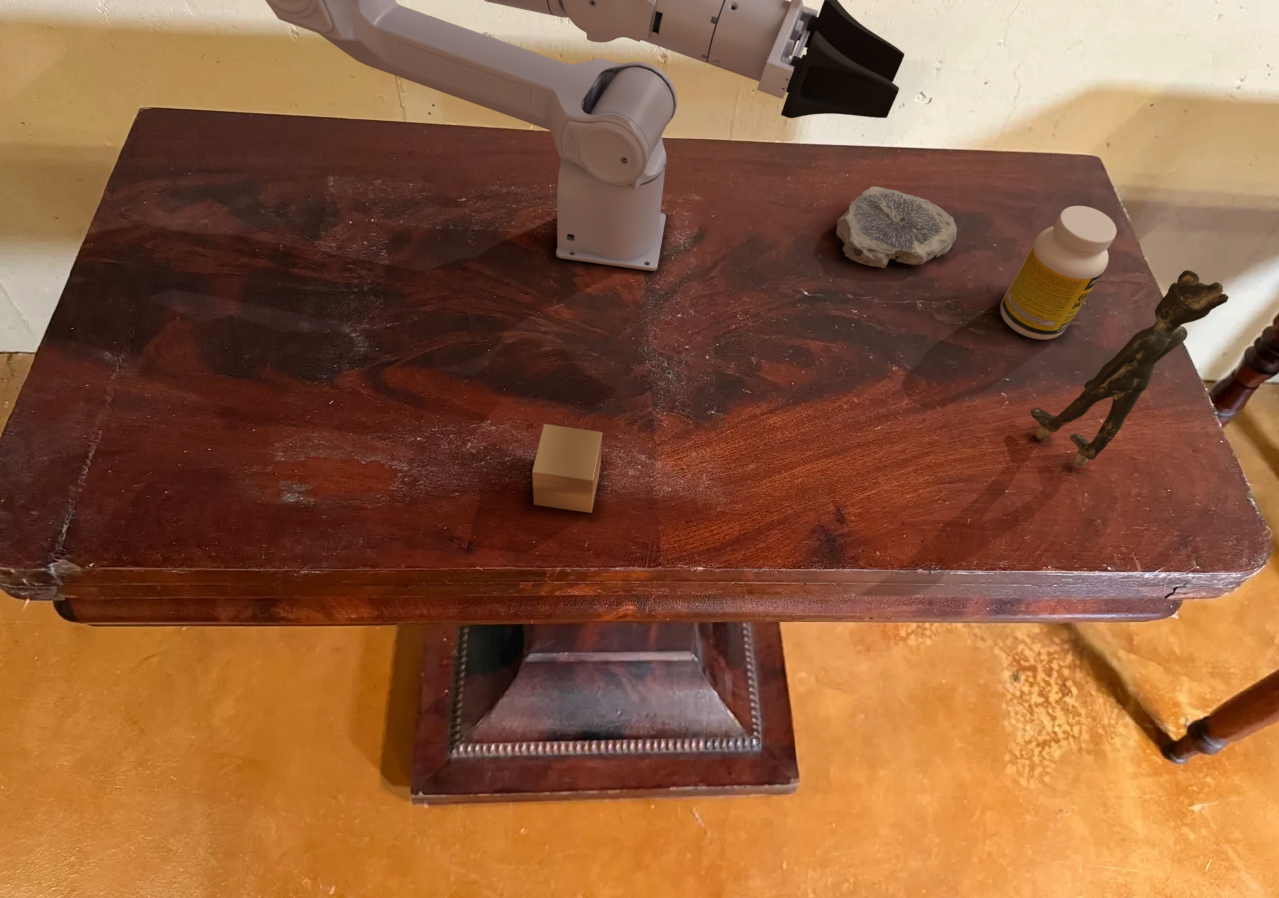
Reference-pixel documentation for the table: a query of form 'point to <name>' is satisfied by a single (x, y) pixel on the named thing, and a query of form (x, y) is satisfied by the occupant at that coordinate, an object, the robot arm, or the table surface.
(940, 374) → the table surface
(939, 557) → the table surface
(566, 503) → the block
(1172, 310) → the statue
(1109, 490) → the table surface
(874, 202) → the fossil
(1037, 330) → the pill bottle
